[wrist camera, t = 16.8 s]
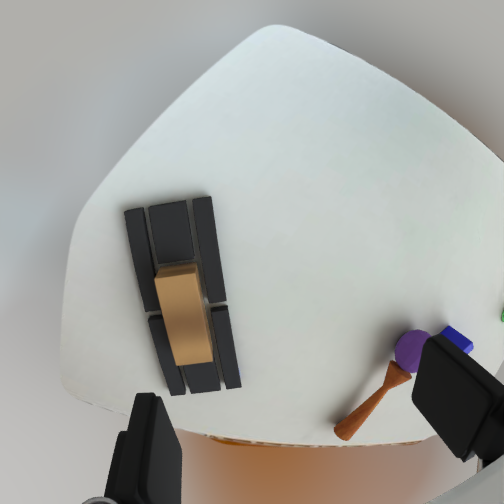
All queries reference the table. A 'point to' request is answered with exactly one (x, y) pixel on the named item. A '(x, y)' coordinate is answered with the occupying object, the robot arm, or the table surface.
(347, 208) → the table surface
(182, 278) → the block
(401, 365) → the kendama
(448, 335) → the blue cradle bracket
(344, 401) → the table surface
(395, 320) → the table surface
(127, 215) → the pad
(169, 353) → the pad
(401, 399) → the table surface
